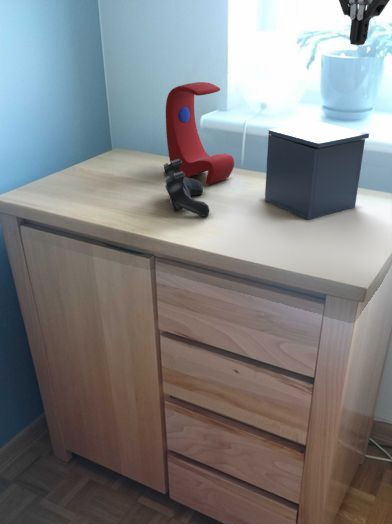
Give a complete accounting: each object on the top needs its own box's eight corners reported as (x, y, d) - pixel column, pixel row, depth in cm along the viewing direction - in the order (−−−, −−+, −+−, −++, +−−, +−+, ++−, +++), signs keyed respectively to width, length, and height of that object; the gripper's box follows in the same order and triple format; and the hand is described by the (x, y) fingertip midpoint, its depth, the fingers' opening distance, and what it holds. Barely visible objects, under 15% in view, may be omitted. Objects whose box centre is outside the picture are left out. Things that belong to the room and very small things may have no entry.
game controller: (177, 204, 124) (154, 164, 118) (204, 188, 122) (182, 148, 117) (182, 232, 110) (156, 189, 105) (213, 215, 109) (188, 171, 104)
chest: (355, 207, 113) (365, 139, 106) (307, 219, 108) (315, 149, 100) (310, 189, 123) (316, 125, 115) (264, 200, 118) (268, 134, 110)
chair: (167, 174, 133) (163, 83, 122) (188, 167, 138) (186, 78, 126) (213, 187, 125) (214, 90, 114) (234, 179, 129) (236, 85, 118)
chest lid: (368, 138, 105) (369, 133, 105) (318, 148, 100) (318, 143, 99) (316, 125, 115) (316, 121, 115) (268, 134, 110) (268, 129, 110)
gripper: (327, -76, 92) (316, 43, 102) (389, -83, 83) (370, 49, 93) (359, -75, 95) (346, 40, 105) (423, -81, 86) (401, 46, 96)
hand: (357, 44), depth 99 cm, fingers closed
